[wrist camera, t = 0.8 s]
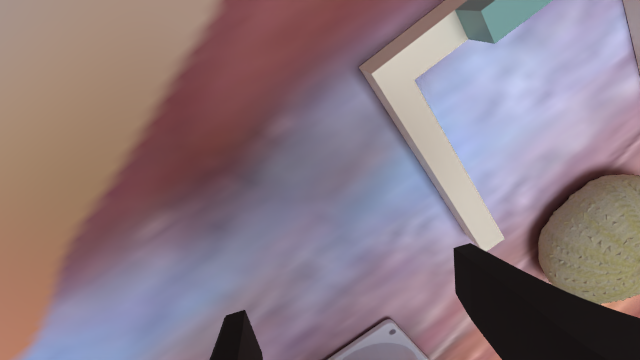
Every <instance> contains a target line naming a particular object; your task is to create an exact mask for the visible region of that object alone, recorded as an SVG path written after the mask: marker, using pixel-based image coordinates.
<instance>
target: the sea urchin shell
mask: <svg viewBox="0 0 640 360" xmlns="http://www.w3.org/2000/svg"><path fill="white" fill-rule="evenodd" d="M538 245H539V246H538V249H539V257H538V259H539V264H540V265H541V267H542V269H543V272H544V273H545V276H546V277H547V278H548V280H549V282H551V283H552V285H553V286H555V287H558V288H560V289H562V290H564V291H566V292H569V293H571V294H573V295H576V296H578V297H581V298H583V299H586V300H589V301H591V302H594V303H596V304H602V303H609V302H610V303H611V302H613V301H616V302H617V301H618V300H622V301H623V300H625V299H626V298H631V297H633V296H636V295H639V294H640V176H639V175H638V176H634V174H632V175H626V174H621V175H609V176H603V177H602V176H601V177H600V178H598V179H595V180H591V181H590V182H588V183H587V184H586V185H585V186H584V187H583V188H581V189H580V190H578V191H576V192H575V193H574V194H571V196H570V197H569V198H568V200H567V201H566V202H565V203H564V204H563V205H562V206H561V207H559V208H558V209H557V210H556V211H554V212H553V215H552V216H551V217H550V219H549V221H548V223H547V224H546V225H545V226H544V227H543V229H542V231H541V234H540V237H539V242H538Z"/></svg>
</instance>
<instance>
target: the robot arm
mask: <svg viewBox="0 0 640 360" xmlns="http://www.w3.org/2000/svg"><path fill="white" fill-rule="evenodd" d="M454 268H455V291H456V295H457V296H458V298H459V300H460V302H461V303H462V305H463V307H464V308H465V310H466V312H467V313H468V315H469V317H470V318H471V320H472V321H473V322H474V324H475V325H476V326H477V328H478V329H479V330H480V332H481V333H482V334H483V336H484V337H485V338H486V340H487V341H488V342H489V343H490V345H491V346H492V347H493V349H494V350H495V351H496V352H497V354H498V355H499V356H500V358H501V359H502V360H640V318H637V317H634V316H631V315H628V314H625V313H622V312H619V311H616V310H613V309H610V308H607V307H604V306H602V305H599V304H596V303H594V302H591V301H589V300H586V299H583V298H581V297H578V296H576V295H573V294H571V293H569V292H566V291H564V290H562V289H560V288H558V287H555V286H553V285H551V284H549V283H546V282H544V281H542V280H540V279H538V278H536V277H534V276H532V275H530V274H528V273H526V272H524V271H522V270H520V269H518V268H516V267H514V266H512V265H510V264H509V263H507V262H505V261H503V260H501V259H499V258H497V257H495V256H494V255H492V254H490V253H488V252H486V251H484V250H483V249H481V248H479V247H477V246H475V245H473V244H471V243H469V244H466V245H462V246H459V247H456V248H454ZM210 360H263V357H262V352H261V349H260V347H259V344H258V342H257V339H256V336H255V334H254V331H253V329H252V326H251V324H250V321H249V319H248V316H247V314H246V311H245V310H243V311H240V312H236V313H233V314H229V315H226V317H225V318H224V321H223V324H222V327H221V330H220V333H219V336H218V339H217V341H216V344H215V347H214V349H213V352H212V355H211V357H210ZM327 360H429V359H428V358H427V356H426V355H425V354H424V353H423V352H422V351H421V350H420V349H419V348H418V347H417V346H416V345H415V344H414V343H413V342H412V340H411V339H410V338H409V337H408V336H407V335H406V334H405V333H404V332H403V331H402V330H401V329H400V328H399V327H398V326H397V324H396V323H395V322H394V321H393V320H390V319H388V320H385V321H383V322H381V323H380V324H379V325H377V326H376V327H374V328H373V329H371V330H370V331H368V332H367V333H365V334H364V335H362V336H361V337H359V338H358V339H357V340H355V341H354V342H352V343H351V344H349V345H348V346H346V347H345V348H343V349H342V350H340V351H339V352H338V353H336V354H335V355H333V356H332V357H330V358H329V359H327Z"/></svg>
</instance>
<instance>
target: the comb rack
mask: <svg viewBox="0 0 640 360" xmlns="http://www.w3.org/2000/svg"><path fill="white" fill-rule="evenodd" d="M551 1H552V0H445V1H443V2H442V3H441V4H440V5H438V6H437V7H436V8H434V9H433V10H432V11H431V12H429V13H428V14H427V15H425V16H424V17H423V18H422V19H420V20H419V21H418V22H416V23H415V24H414V25H412V26H411V27H410V28H409V29H407V30H406V31H405V32H403V33H402V34H401V35H400V36H398V37H397V38H396V39H394V40H393V41H392V42H391V43H389V44H388V45H387V46H385V47H384V48H383V49H382V50H380V51H379V52H378V53H376V54H375V55H374V56H373V57H371V58H370V59H369V60H367V61H366V62H365V63H363V64H362V65H361V66H360V67H359V68H360V70H361V71H362V73H363V75H364V76H365V78H366V79H367V81H368V82H369V84H370V86H371V87H372V89H373V90H374V92H375V93H376V95H377V96H378V98H379V100H380V101H381V103H382V104H383V106H384V107H385V109H386V111H387V112H388V114H389V115H390V117H391V118H392V120H393V121H394V123H395V125H396V126H397V128H398V129H399V131H400V132H401V134H402V136H403V137H404V139H405V140H406V142H407V143H408V145H409V146H410V148H411V150H412V151H413V153H414V154H415V156H416V157H417V159H418V160H419V162H420V164H421V165H422V167H423V168H424V170H425V171H426V173H427V175H428V176H429V178H430V179H431V181H432V182H433V184H434V185H435V187H436V189H437V190H438V192H439V193H440V195H441V196H442V198H443V200H444V201H445V203H446V204H447V206H448V207H449V209H450V210H451V212H452V214H453V215H454V217H455V218H456V220H457V221H458V223H459V225H460V226H461V228H462V229H463V231H464V232H465V234H466V235H467V236H468V237H469V238H470V239H471V240H472V241H473V242H474V243H475V244H476V246H477V247H479V248H481V249H483V250H484V251H488V250H489V249H490V248H492V247H493V246H495V245H496V244H498V243H499V242H501V241H502V240H504V237H503V235H502V233H501V232H500V230H499V228H498V226H497V225H496V223H495V221H494V219H493V218H492V216H491V214H490V212H489V211H488V209H487V207H486V205H485V204H484V202H483V200H482V198H481V197H480V195H479V193H478V191H477V189H476V188H475V186H474V184H473V182H472V181H471V179H470V177H469V175H468V174H467V172H466V170H465V168H464V167H463V165H462V163H461V161H460V160H459V158H458V156H457V154H456V153H455V151H454V149H453V147H452V146H451V144H450V142H449V140H448V139H447V137H446V135H445V133H444V132H443V130H442V128H441V126H440V125H439V123H438V121H437V119H436V118H435V116H434V114H433V112H432V111H431V109H430V107H429V105H428V104H427V102H426V100H425V98H424V97H423V95H422V93H421V91H420V90H419V88H418V86H417V84H416V83H415V81H414V80H415V79H416V78H418V77H419V76H420V75H422V74H423V73H424V72H426V71H427V70H428V69H429V68H431V67H432V66H433V65H435V64H436V63H437V62H439V61H440V60H441V59H443V58H444V57H445V56H447V55H448V54H449V53H451V52H452V51H453V50H455V49H456V48H457V47H459V46H460V45H461V44H463V43H464V42H465V41H466V40H468V39H470V40H476V41H482V42H488V43H494V44H495V43H496V42H498V41H499V40H500V39H502V38H503V37H504V36H506V35H507V34H508V33H510V32H511V31H512V30H514V29H515V28H516V27H518V26H519V25H520V24H522V23H523V22H524V21H526V20H527V19H528V18H530V17H531V16H532V15H534V14H535V13H536V12H538V11H539V10H540V9H542V8H543V7H544V6H546V5H547V4H548V3H550V2H551ZM623 3H624V8H625V12H626V16H627V21H628V25H629V29H630V34H631V38H632V42H633V46H634V51H635V55H636V59H637V64H638V68H639V72H640V0H623Z"/></svg>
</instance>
